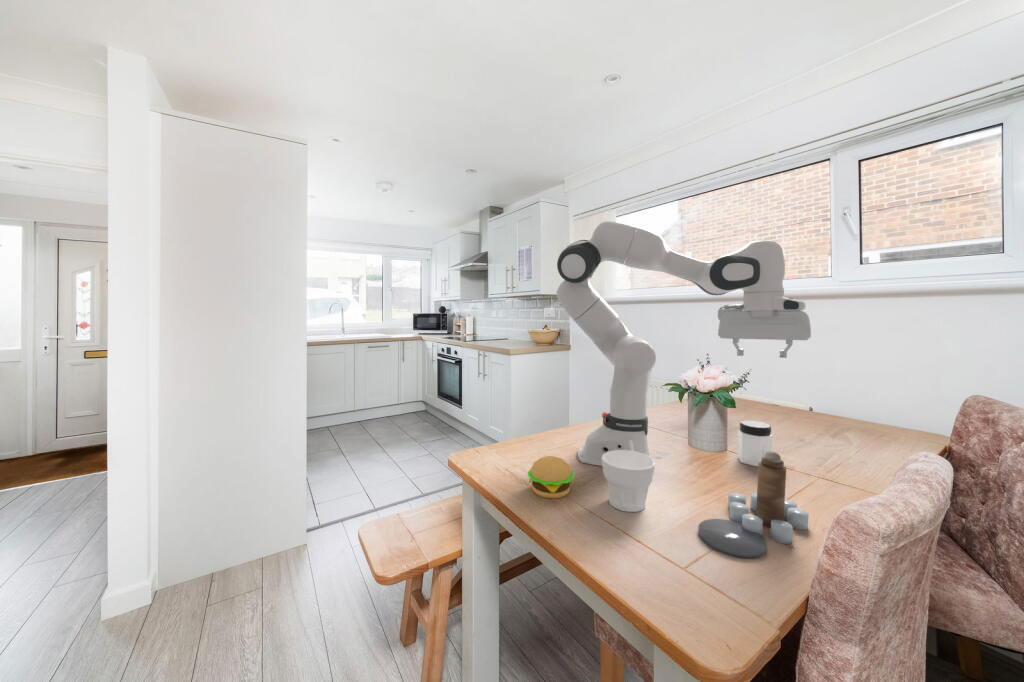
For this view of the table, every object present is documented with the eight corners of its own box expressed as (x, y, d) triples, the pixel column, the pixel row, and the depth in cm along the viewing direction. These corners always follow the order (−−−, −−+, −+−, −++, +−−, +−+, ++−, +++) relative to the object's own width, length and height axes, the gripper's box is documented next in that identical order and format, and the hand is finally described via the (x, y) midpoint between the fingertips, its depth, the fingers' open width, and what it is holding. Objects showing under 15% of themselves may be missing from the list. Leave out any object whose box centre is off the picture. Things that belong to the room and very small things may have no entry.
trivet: (705, 552, 73) (705, 547, 72) (693, 519, 84) (693, 515, 84) (777, 563, 69) (777, 558, 69) (753, 527, 81) (753, 523, 81)
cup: (650, 494, 96) (651, 451, 95) (657, 520, 84) (659, 471, 83) (600, 489, 99) (601, 448, 98) (600, 513, 87) (601, 466, 86)
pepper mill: (760, 527, 81) (764, 454, 80) (752, 515, 86) (755, 446, 85) (787, 530, 80) (791, 456, 79) (777, 518, 85) (781, 448, 83)
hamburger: (583, 490, 98) (583, 458, 98) (554, 507, 90) (554, 472, 89) (548, 476, 107) (548, 446, 106) (518, 490, 98) (518, 458, 98)
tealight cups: (741, 537, 77) (741, 523, 77) (720, 501, 92) (720, 489, 92) (828, 549, 73) (828, 534, 73) (791, 509, 88) (792, 497, 88)
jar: (752, 468, 112) (754, 428, 111) (731, 458, 120) (732, 421, 119) (777, 465, 114) (779, 426, 113) (754, 455, 122) (756, 419, 121)
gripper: (716, 304, 102) (715, 355, 103) (812, 302, 90) (810, 360, 91) (719, 305, 107) (718, 353, 108) (811, 303, 95) (808, 357, 96)
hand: (761, 356), depth 99 cm, fingers open, 8 cm apart
